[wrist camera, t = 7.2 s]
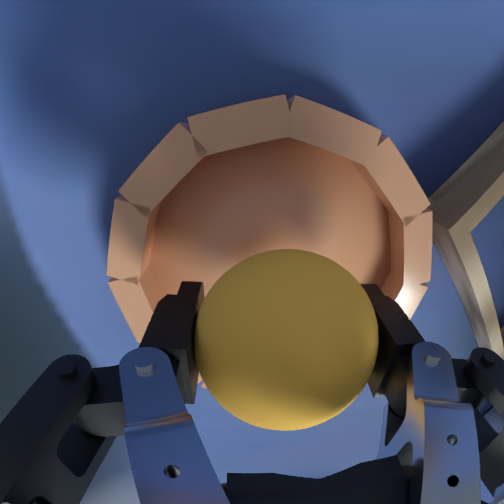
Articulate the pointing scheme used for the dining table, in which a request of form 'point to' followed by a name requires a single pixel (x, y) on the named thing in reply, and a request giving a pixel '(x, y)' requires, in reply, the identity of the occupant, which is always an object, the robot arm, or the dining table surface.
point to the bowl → (268, 204)
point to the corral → (459, 237)
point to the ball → (286, 339)
